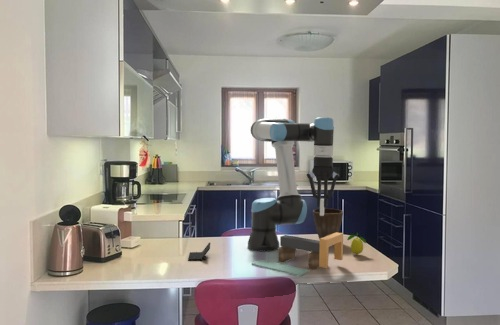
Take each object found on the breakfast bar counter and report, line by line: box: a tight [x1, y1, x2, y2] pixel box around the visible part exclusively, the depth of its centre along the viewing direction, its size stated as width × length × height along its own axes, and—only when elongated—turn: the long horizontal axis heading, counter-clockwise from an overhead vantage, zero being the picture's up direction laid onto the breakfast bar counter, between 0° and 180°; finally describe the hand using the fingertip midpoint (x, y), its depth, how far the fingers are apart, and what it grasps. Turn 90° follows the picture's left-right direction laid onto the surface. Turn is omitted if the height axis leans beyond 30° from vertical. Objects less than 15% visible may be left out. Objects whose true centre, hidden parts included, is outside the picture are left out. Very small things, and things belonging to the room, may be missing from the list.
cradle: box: [277, 246, 320, 270], centre depth 167 cm, size 17×10×6 cm, turn 52°
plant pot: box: [312, 208, 344, 240], centre depth 203 cm, size 15×15×16 cm
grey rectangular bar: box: [279, 234, 320, 253], centre depth 167 cm, size 19×4×4 cm, turn 52°
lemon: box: [347, 232, 367, 256], centre depth 180 cm, size 7×6×10 cm
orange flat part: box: [318, 232, 344, 269], centre depth 159 cm, size 3×14×11 cm, turn 142°
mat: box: [251, 259, 311, 277], centre depth 160 cm, size 23×7×1 cm, turn 52°
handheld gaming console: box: [187, 242, 211, 262], centre depth 175 cm, size 12×7×10 cm
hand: (322, 215), depth 161 cm, fingers closed
